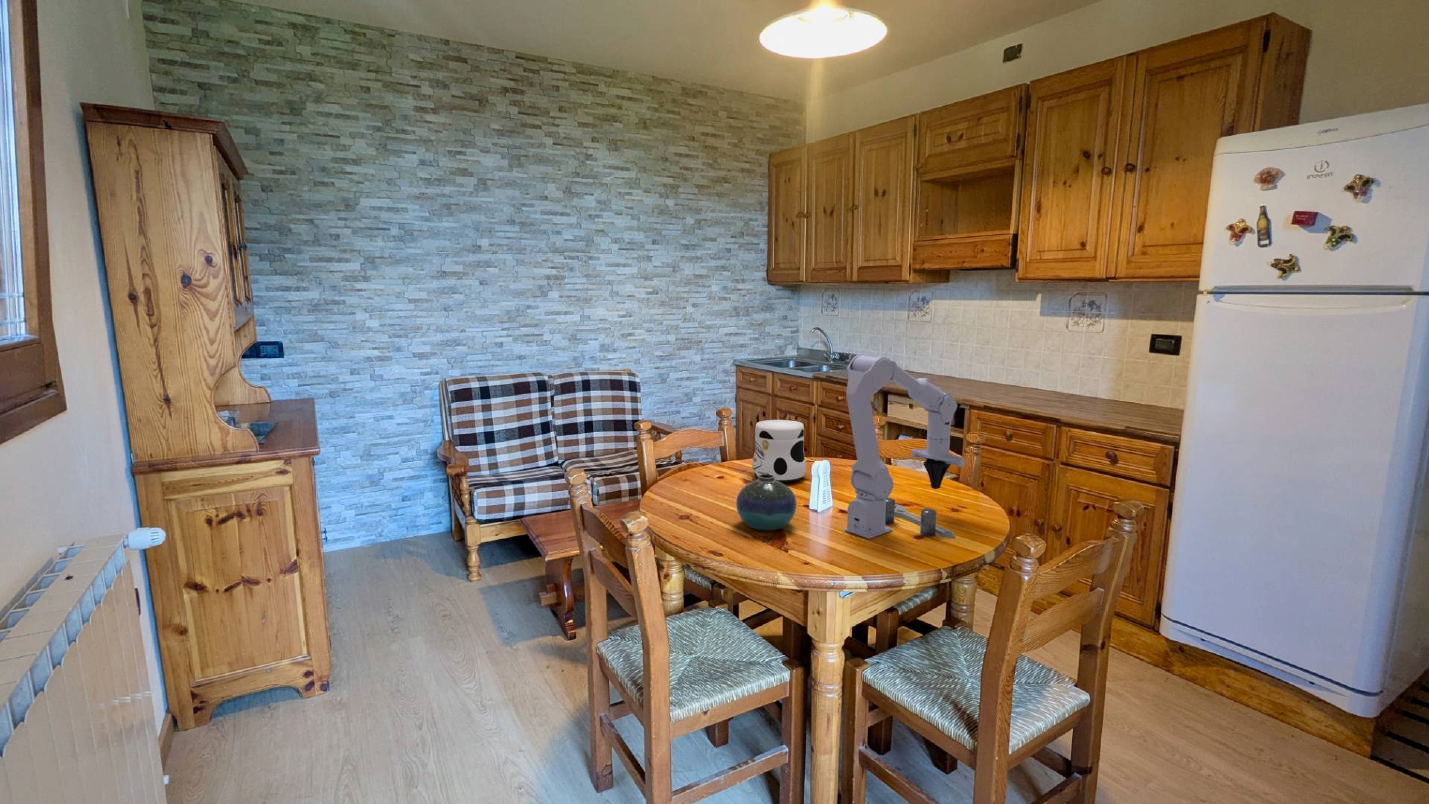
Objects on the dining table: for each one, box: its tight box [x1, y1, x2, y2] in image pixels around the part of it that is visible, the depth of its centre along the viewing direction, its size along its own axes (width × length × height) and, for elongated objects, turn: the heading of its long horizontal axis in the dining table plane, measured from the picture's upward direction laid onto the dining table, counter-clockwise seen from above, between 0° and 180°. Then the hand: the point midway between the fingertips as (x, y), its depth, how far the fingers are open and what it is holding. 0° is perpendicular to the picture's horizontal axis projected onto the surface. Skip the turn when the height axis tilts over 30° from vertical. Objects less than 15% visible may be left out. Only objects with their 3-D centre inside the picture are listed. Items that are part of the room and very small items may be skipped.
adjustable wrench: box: [894, 503, 955, 539], centre depth 174 cm, size 25×6×2 cm, turn 19°
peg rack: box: [885, 497, 937, 538], centre depth 170 cm, size 4×16×6 cm, turn 40°
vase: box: [735, 474, 798, 532], centre depth 170 cm, size 15×15×13 cm
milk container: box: [751, 419, 807, 483], centre depth 215 cm, size 17×17×18 cm
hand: (935, 488), depth 177 cm, fingers closed
